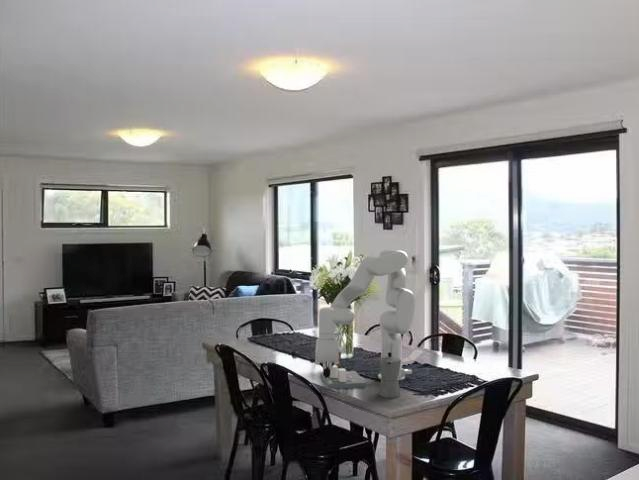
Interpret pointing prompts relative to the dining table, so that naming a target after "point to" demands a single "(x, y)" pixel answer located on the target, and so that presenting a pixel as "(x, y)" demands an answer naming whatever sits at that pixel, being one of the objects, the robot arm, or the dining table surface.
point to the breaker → (334, 372)
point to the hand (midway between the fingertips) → (326, 377)
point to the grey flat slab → (351, 382)
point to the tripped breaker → (341, 375)
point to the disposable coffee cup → (339, 356)
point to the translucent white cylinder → (411, 357)
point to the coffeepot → (389, 376)
